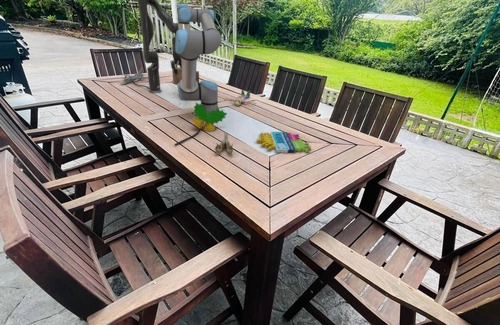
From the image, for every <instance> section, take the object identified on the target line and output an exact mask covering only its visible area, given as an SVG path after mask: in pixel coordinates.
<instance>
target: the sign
mask: <svg viewBox="0 0 500 325" xmlns="http://www.w3.org/2000/svg"><path fill="white" fill-rule="evenodd" d="M299 136H300V135H299V134H298V133H296V134H294V133H291V132H287V131H270V132H264V133H263V132H260V133H259V139H258V138H257V139H256V143H257V144H261V148H263V147H264V148H265V149H267V151H268V152H271V151H272V150H273V149H275V152H276V153H283V154H285V153H287V154H288V153H290V154H293V153H296V152H298V153H301V152H305V153H310V151H311V150H312V149H311V148H312V146H309V142H304V141H303V139H302V138H299Z"/></svg>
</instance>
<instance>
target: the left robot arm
mask: <svg viewBox="0 0 500 325" xmlns="http://www.w3.org/2000/svg"><path fill="white" fill-rule="evenodd" d="M136 1H137V5H138V6H137V7H138V10H139V11H138V12H139V17H140V18H139V19H140V28H141V36H142V37H141V38H142V56H143V60H144V63H146V64H150V65H149V66H148V67H147V68H146V70H147V77H148V78H147V79H148V85H143V84H138V83H135V82H134V81H132V84H133V85H135V86H138V87H145V88H147V89H148V90H149V92H150V93H156V94H157V93H160V92H161V91H162V90H161V80H160V79H161V78H160V62H159V61H160V59H159V54H158V52H157V51H156V50H150V47H151V42H152V40H153V38H154V36H155V28H154V22H153V21H152V19H151V17H150V14H149V11H148V6H149V7H151V8H153V9H154V11H155V12H156V15H157V17H158V18H159V20H160V21H161V22H162V23H163V24H165V26H166V28H167V29H168V31H169V32H170V33H172V34H174V36H172V37H171V45H172V46H171V51H172V52H171V53H172V58H173V60H170V67H171V70H172V69H174V74H177V67H180V68H182V66H181V65H180V64H179V55H177V53H176V49H175V42H176V41H175V38H176V32H177V31H178V30H179V27H178V22H174V20H173V19H174V18H173V17H172V16H171V15H170V14H169V13H168V12H167V11H166V9H164V8H163V7H162V5H161V4H160V3H159V1H158V0H136Z"/></svg>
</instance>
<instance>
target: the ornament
mask: <svg viewBox="0 0 500 325" xmlns="http://www.w3.org/2000/svg"><path fill="white" fill-rule="evenodd" d="M219 110H220V108H219V109H217V110H216V111H214V110H212V112H211V113H208V112H206V109H204V106H201V103H198V102H196V101H195V105H194V106H193V112H194V113H195V118H192V119H191V122H192V123H193V125H195V127H197V128H198V129H199V128H200V129H202V130H203V131H206V132H212V131H213V132H214V131H215V130H216V126H215V124H218V123H219V122H223V119H226V115H227V114H228V113H227V112H224V110H223V109H221V110H220V111H219ZM207 113H208V115H207ZM214 123H215V124H214Z"/></svg>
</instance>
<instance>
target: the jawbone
mask: <svg viewBox="0 0 500 325" xmlns="http://www.w3.org/2000/svg"><path fill="white" fill-rule="evenodd" d="M223 135H224V136H223V140H222V139H221V142H220V144H218V142H215V144H216V146H215V148H214V149H215V152H214V154H215V155H217V156H218V155H220V153H221V152H223V151H224V150H226V152H227V153H228V155H229V156H233V155H234V154H233V153H234V148H233V144H234V143H230V140H228V139H229V138H228V137H229V136H228V135H229V133H228V131H226V132H224V134H223Z"/></svg>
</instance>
